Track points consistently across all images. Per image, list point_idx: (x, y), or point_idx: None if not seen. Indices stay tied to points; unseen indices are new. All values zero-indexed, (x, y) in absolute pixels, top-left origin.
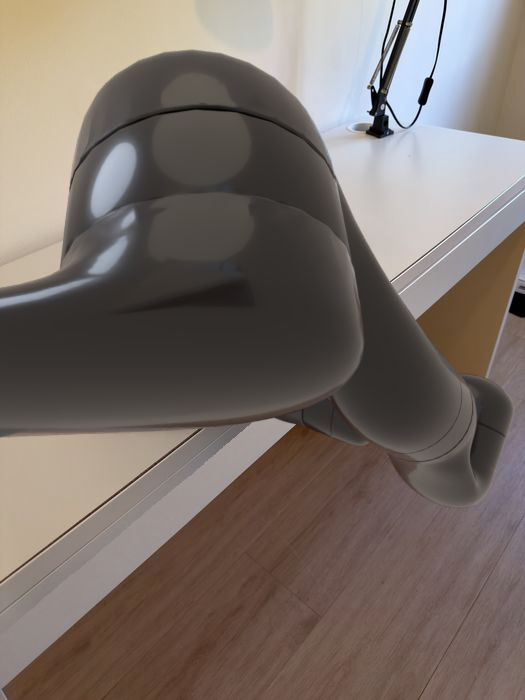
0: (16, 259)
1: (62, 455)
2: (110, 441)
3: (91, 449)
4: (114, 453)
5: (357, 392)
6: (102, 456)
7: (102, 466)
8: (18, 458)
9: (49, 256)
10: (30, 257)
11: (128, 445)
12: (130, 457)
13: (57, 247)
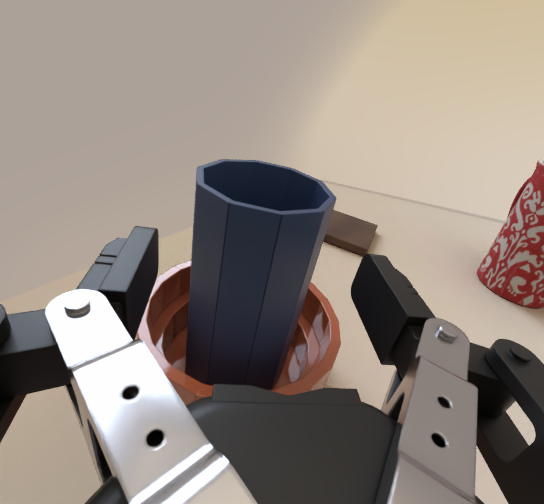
0: (323, 181)
1: None
2: None
3: None
4: (53, 433)
5: None
6: (41, 415)
7: (8, 434)
8: (30, 303)
9: (347, 193)
10: (333, 186)
11: (82, 445)
12: (41, 477)
13: (361, 193)
